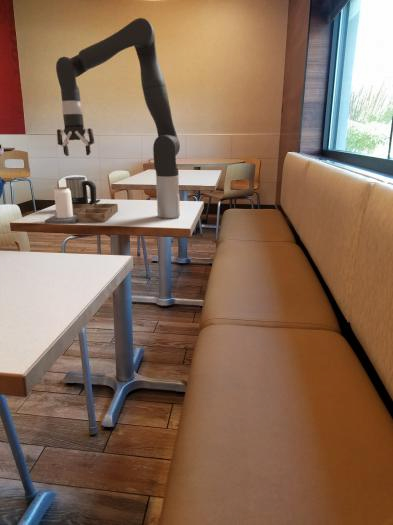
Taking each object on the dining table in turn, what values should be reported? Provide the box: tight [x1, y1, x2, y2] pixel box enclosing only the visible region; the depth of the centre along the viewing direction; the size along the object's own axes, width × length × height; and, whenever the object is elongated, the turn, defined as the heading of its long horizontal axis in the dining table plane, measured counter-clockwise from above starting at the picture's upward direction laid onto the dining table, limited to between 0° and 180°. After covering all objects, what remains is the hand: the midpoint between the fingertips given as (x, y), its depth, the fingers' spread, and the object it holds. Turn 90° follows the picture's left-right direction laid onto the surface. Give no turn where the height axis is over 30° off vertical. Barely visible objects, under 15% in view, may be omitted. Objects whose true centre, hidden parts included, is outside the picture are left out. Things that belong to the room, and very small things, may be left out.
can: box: [53, 186, 73, 219], centre depth 166 cm, size 6×6×12 cm
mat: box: [44, 214, 78, 224], centre depth 168 cm, size 12×12×1 cm
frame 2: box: [76, 208, 113, 223], centre depth 169 cm, size 11×11×4 cm
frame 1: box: [72, 204, 90, 215], centre depth 179 cm, size 11×11×4 cm
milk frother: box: [64, 176, 101, 205], centre depth 191 cm, size 14×16×15 cm
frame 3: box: [87, 203, 119, 217], centre depth 180 cm, size 11×11×4 cm
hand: (77, 155), depth 167 cm, fingers open, 8 cm apart
